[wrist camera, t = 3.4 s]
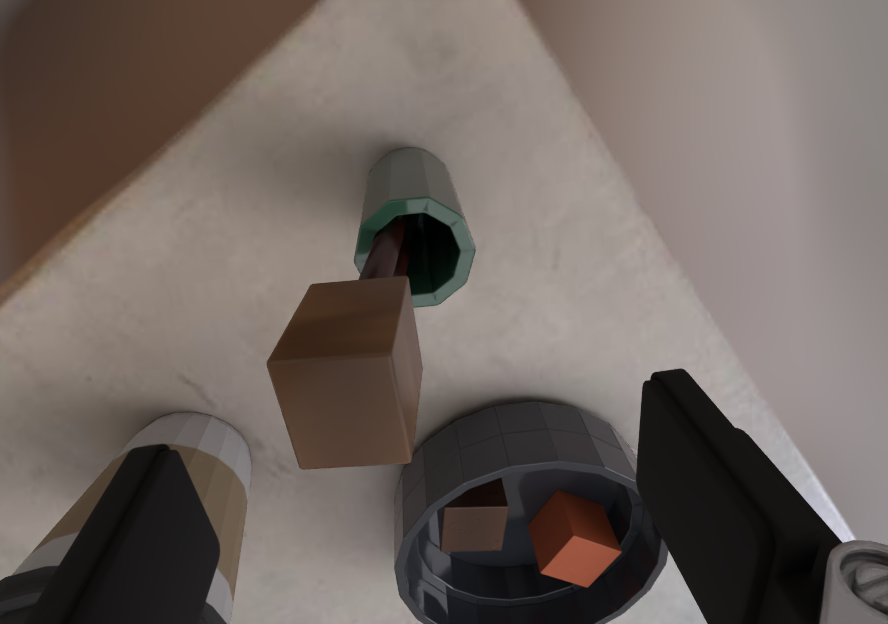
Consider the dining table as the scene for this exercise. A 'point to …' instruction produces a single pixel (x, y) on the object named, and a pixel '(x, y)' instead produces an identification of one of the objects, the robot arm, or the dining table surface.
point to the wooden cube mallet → (354, 363)
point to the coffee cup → (219, 488)
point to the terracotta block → (573, 539)
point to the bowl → (521, 519)
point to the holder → (419, 222)
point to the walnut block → (474, 519)
